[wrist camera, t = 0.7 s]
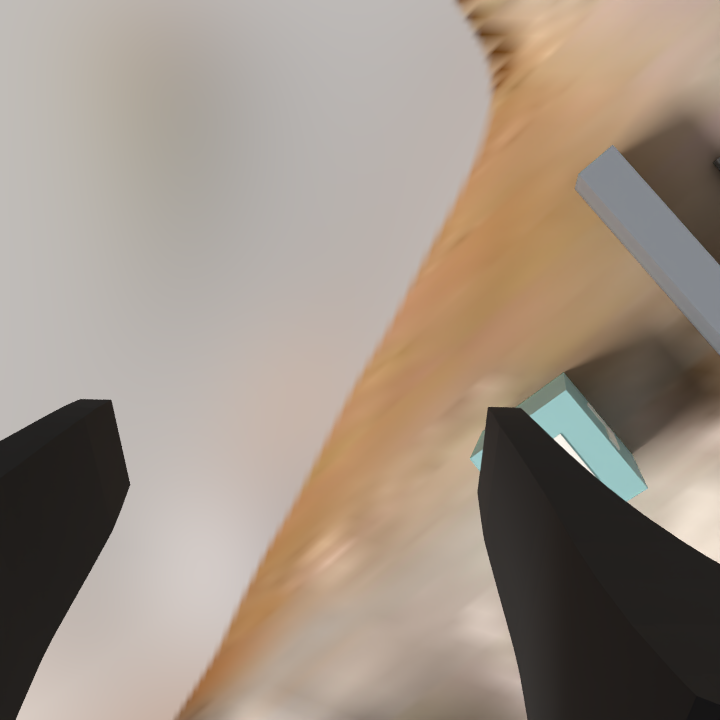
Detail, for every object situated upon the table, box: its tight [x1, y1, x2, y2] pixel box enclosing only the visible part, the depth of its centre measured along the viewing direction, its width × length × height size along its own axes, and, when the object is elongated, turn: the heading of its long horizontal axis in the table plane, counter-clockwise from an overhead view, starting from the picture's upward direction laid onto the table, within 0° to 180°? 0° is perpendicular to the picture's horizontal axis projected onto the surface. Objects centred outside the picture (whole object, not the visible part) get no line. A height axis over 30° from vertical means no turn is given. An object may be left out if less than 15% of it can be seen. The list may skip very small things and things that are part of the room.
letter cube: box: [470, 372, 648, 502], centre depth 27 cm, size 5×5×5 cm
